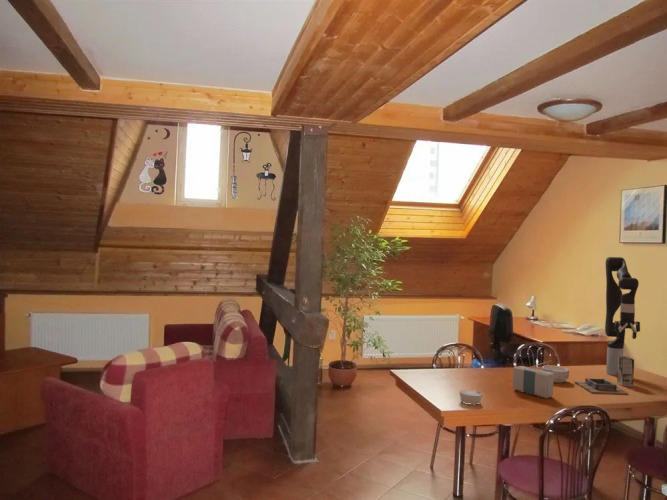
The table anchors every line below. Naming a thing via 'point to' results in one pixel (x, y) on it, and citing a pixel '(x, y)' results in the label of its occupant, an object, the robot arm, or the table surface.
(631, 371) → the coffee box
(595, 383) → the collar board
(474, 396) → the ramekin
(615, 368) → the robot arm
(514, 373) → the stereo radio cassette player
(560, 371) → the paper bowls
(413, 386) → the table surface
